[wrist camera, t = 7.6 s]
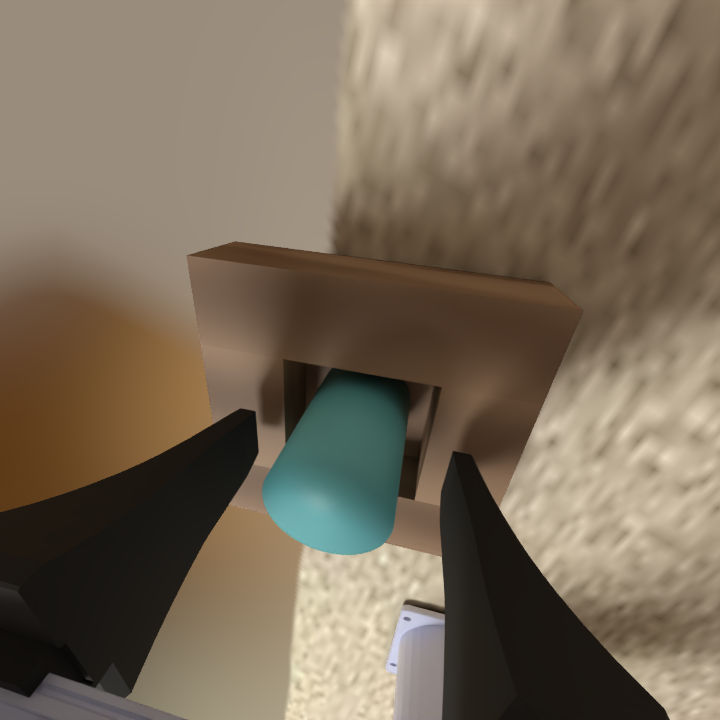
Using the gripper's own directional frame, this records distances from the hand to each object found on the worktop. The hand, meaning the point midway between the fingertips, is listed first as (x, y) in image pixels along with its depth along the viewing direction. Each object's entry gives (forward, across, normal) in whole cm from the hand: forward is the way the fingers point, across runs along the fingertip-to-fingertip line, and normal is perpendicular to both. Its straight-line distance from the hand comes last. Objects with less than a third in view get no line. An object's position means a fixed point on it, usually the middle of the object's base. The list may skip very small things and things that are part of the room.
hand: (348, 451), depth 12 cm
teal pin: (+3, 0, 0) cm, 3 cm away
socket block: (+4, 0, 0) cm, 4 cm away
